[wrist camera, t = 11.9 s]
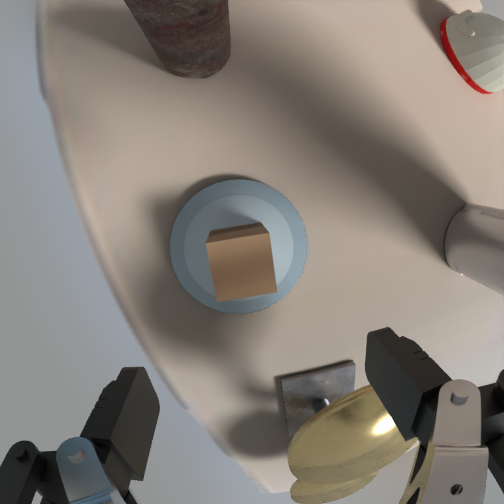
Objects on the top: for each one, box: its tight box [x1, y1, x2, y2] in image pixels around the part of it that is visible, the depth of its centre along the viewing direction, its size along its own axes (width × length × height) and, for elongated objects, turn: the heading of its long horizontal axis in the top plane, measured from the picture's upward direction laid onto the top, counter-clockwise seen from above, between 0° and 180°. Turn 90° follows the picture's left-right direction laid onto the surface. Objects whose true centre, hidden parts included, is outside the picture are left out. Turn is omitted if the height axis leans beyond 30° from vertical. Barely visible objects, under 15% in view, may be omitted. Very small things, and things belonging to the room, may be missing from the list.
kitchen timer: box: [440, 10, 504, 94], centre depth 18 cm, size 14×14×15 cm
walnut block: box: [206, 222, 277, 302], centre depth 26 cm, size 5×5×6 cm
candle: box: [124, 0, 230, 78], centre depth 14 cm, size 8×7×20 cm
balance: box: [281, 361, 418, 504], centre depth 28 cm, size 33×13×16 cm, turn 9°
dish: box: [170, 179, 307, 314], centre depth 29 cm, size 14×14×1 cm
